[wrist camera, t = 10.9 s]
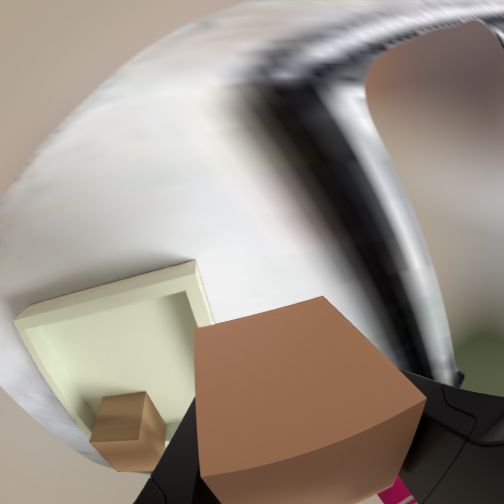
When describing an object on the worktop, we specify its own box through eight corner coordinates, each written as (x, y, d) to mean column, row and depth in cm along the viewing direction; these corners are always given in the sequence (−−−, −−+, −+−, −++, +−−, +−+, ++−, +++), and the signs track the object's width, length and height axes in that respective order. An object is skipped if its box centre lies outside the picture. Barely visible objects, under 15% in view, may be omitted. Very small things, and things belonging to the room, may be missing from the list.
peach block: (328, 387, 10) (392, 485, 5) (225, 416, 9) (249, 534, 4) (322, 296, 9) (426, 398, 4) (194, 328, 8) (200, 476, 3)
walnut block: (165, 423, 20) (164, 469, 15) (124, 428, 19) (117, 471, 15) (146, 391, 19) (138, 439, 14) (102, 397, 18) (89, 441, 13)
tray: (245, 409, 21) (250, 430, 19) (105, 431, 20) (100, 451, 17) (195, 259, 18) (195, 273, 15) (28, 305, 16) (12, 320, 13)
